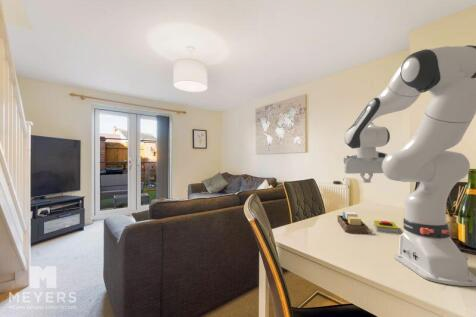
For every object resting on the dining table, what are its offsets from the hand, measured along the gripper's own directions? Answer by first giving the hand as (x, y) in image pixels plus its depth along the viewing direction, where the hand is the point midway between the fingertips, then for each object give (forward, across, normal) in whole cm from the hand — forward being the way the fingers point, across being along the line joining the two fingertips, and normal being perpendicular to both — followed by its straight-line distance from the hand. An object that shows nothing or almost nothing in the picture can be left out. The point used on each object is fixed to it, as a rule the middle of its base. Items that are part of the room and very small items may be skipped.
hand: (366, 182), depth 109 cm
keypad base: (+24, -6, +7) cm, 26 cm away
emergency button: (+25, +10, +6) cm, 27 cm away
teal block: (+22, -6, +13) cm, 26 cm away
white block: (+21, -6, +7) cm, 23 cm away
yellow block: (+22, -6, +1) cm, 23 cm away
